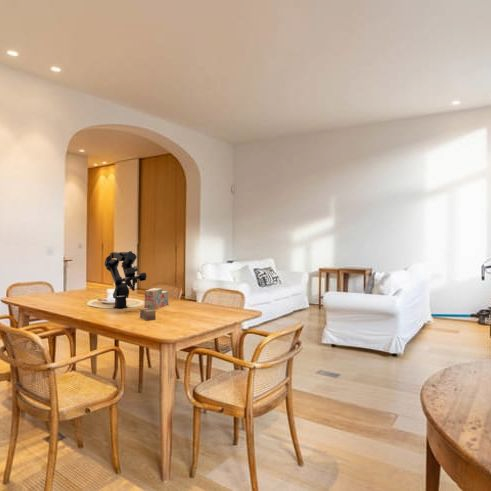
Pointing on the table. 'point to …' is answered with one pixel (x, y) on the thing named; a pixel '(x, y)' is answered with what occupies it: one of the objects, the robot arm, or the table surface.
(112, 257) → the robot arm
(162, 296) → the stack of blocks
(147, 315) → the walnut block
